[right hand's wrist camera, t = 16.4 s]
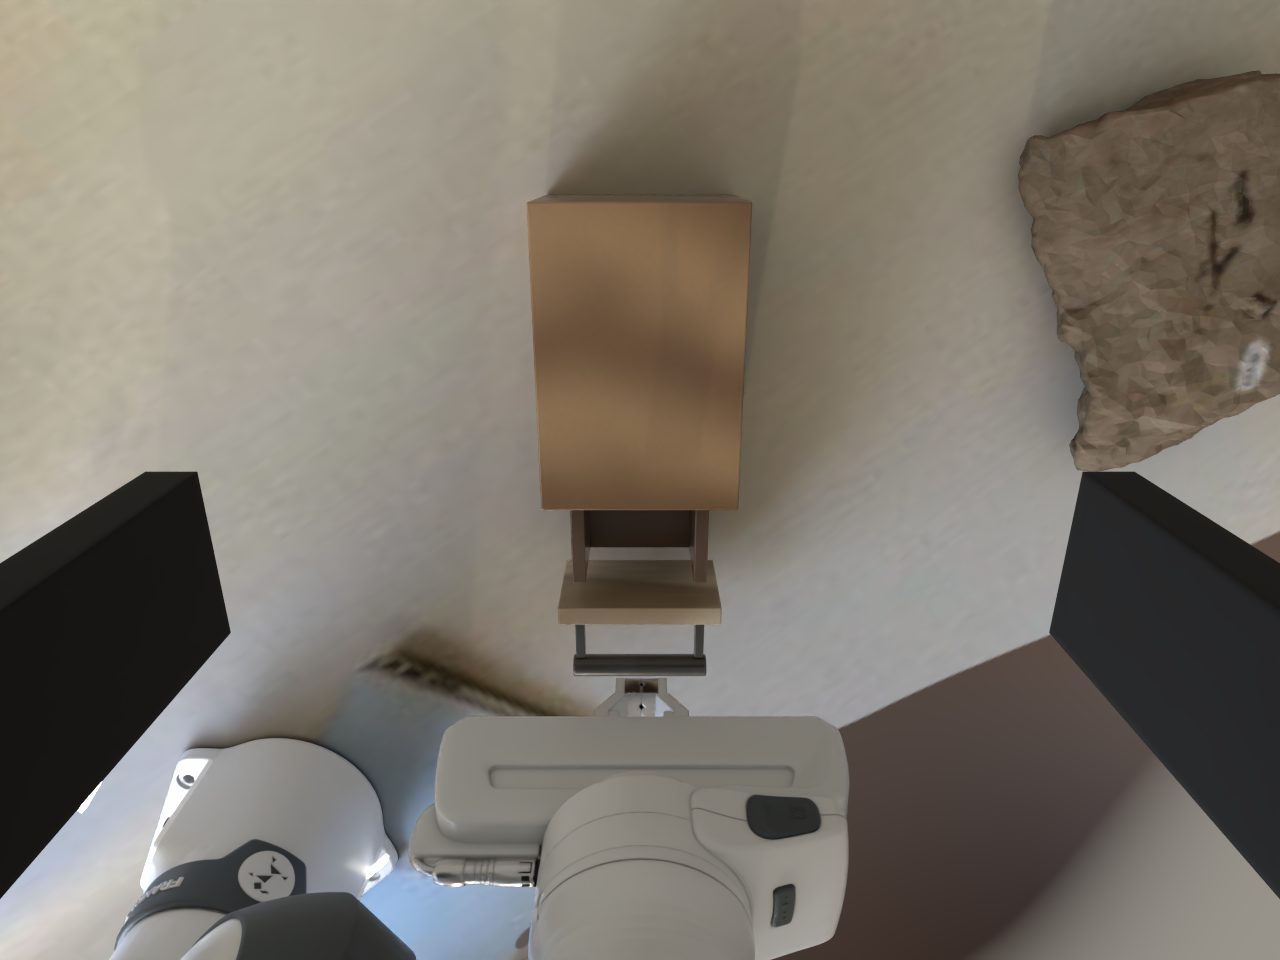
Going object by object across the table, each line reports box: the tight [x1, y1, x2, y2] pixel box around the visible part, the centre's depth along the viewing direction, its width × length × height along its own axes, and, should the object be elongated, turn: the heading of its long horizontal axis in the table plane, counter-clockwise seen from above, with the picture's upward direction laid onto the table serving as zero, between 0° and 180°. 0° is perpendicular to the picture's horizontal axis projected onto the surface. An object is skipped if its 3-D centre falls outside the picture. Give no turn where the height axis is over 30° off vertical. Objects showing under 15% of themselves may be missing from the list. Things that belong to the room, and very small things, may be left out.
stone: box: [1018, 71, 1280, 472], centre depth 48 cm, size 21×15×6 cm
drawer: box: [558, 510, 721, 676], centre depth 52 cm, size 21×10×6 cm, turn 0°
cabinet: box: [527, 195, 752, 510], centre depth 48 cm, size 17×11×9 cm
